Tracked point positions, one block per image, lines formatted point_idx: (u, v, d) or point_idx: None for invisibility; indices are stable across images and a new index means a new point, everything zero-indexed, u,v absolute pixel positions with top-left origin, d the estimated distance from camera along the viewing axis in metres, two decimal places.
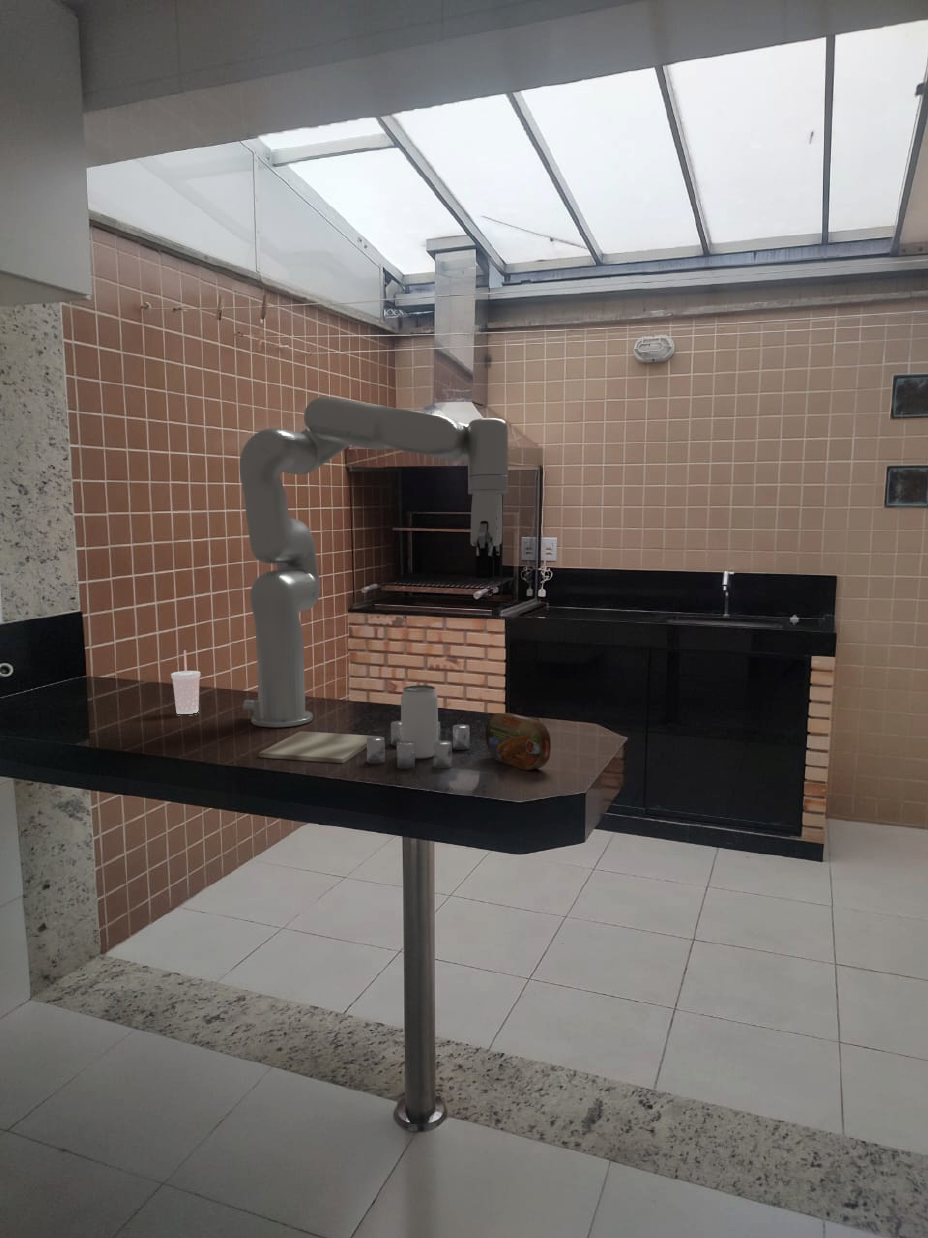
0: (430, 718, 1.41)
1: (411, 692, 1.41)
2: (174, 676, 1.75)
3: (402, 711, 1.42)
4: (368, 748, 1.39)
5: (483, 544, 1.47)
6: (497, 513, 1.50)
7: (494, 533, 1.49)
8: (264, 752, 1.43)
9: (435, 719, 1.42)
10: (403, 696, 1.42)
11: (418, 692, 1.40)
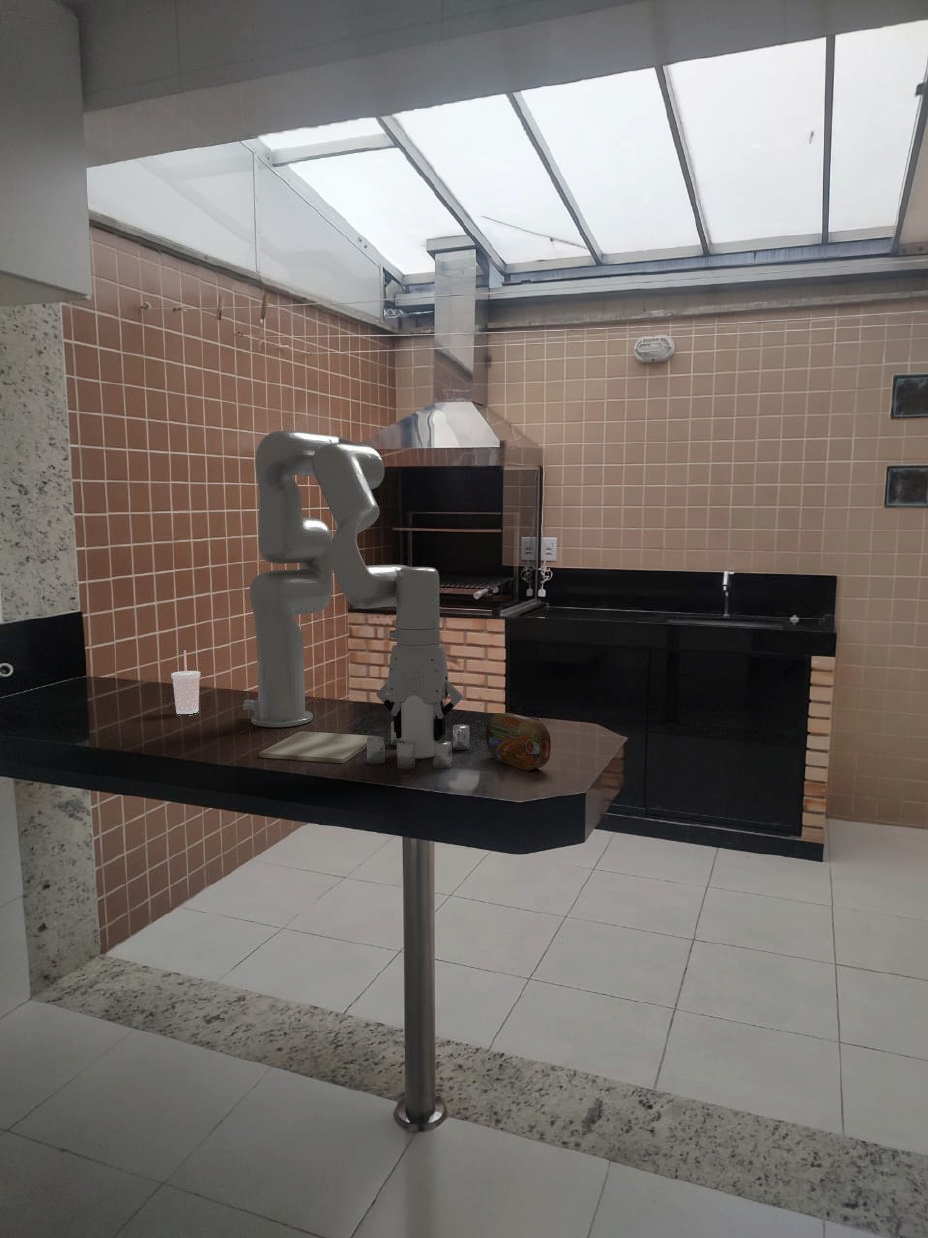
0: (430, 718, 1.41)
1: None
2: (174, 676, 1.75)
3: (402, 711, 1.42)
4: (368, 748, 1.39)
5: None
6: None
7: None
8: (264, 752, 1.43)
9: None
10: None
11: None
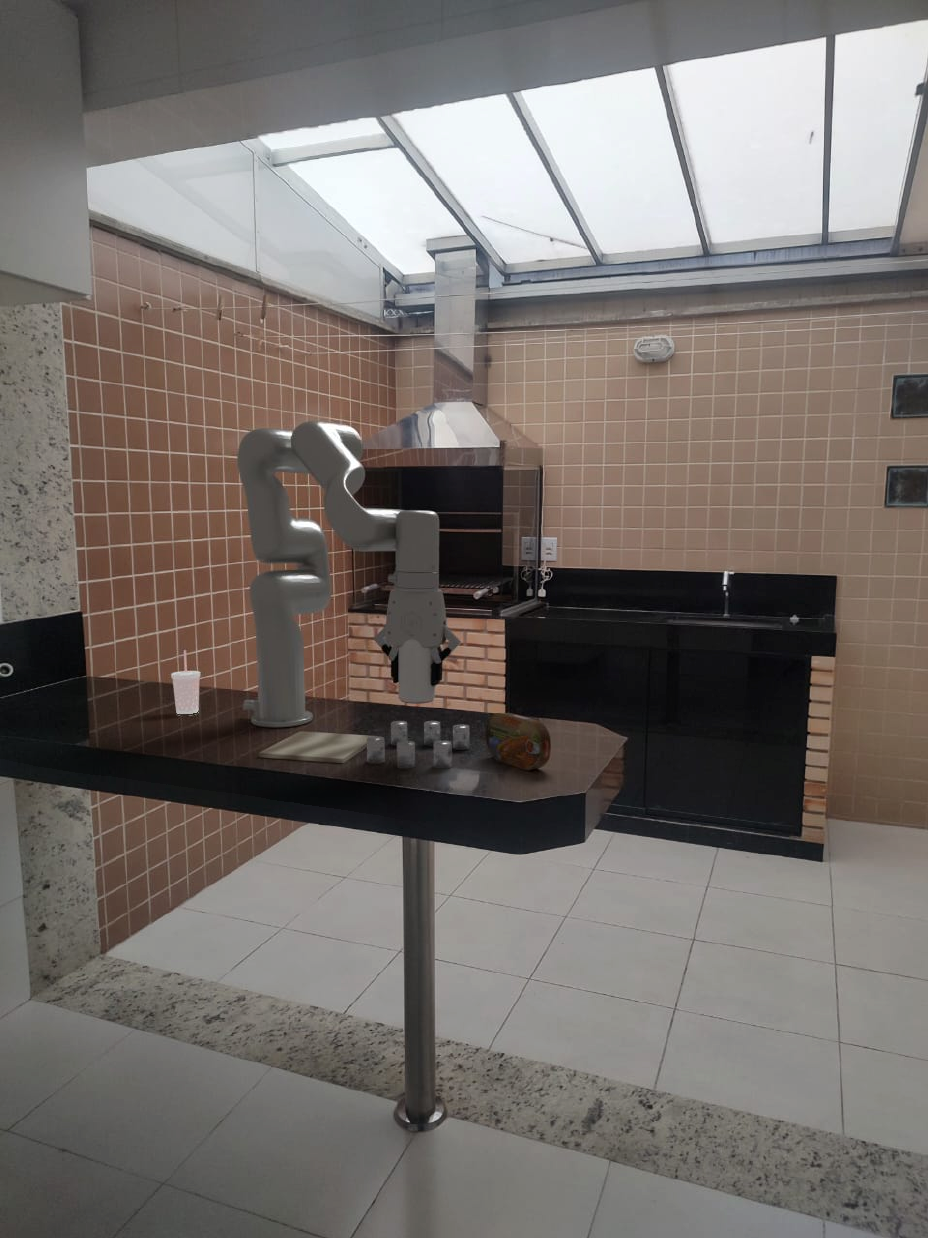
0: (427, 663, 1.40)
1: None
2: (174, 676, 1.75)
3: (399, 655, 1.41)
4: (368, 748, 1.39)
5: (452, 650, 1.41)
6: None
7: None
8: (264, 752, 1.43)
9: None
10: None
11: None
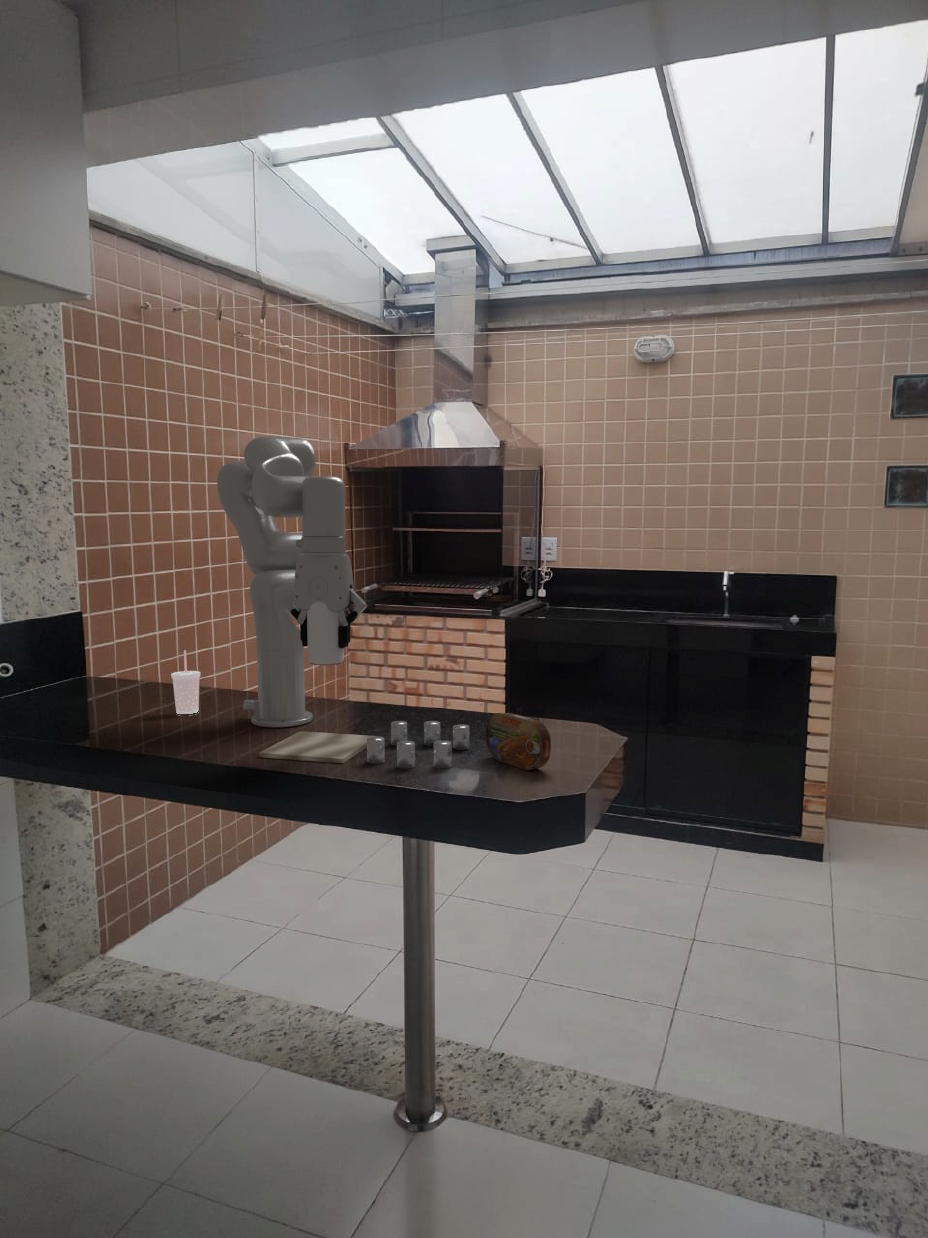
0: (334, 625, 1.44)
1: None
2: (174, 676, 1.75)
3: (307, 618, 1.45)
4: (368, 748, 1.39)
5: None
6: None
7: None
8: (264, 752, 1.43)
9: None
10: None
11: None
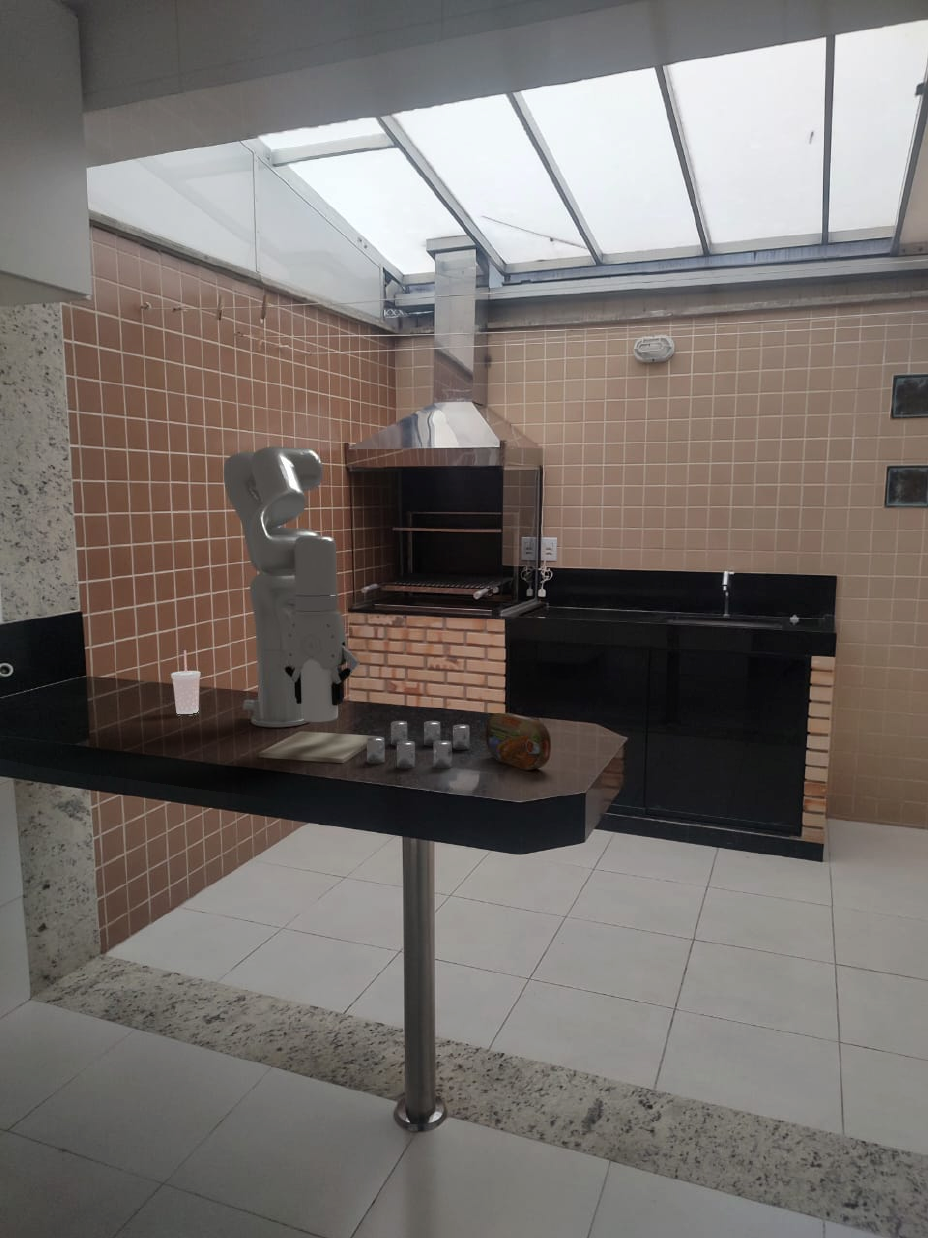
0: (327, 683, 1.45)
1: None
2: (174, 676, 1.75)
3: (301, 676, 1.46)
4: (368, 748, 1.39)
5: None
6: None
7: None
8: (264, 752, 1.43)
9: None
10: None
11: None
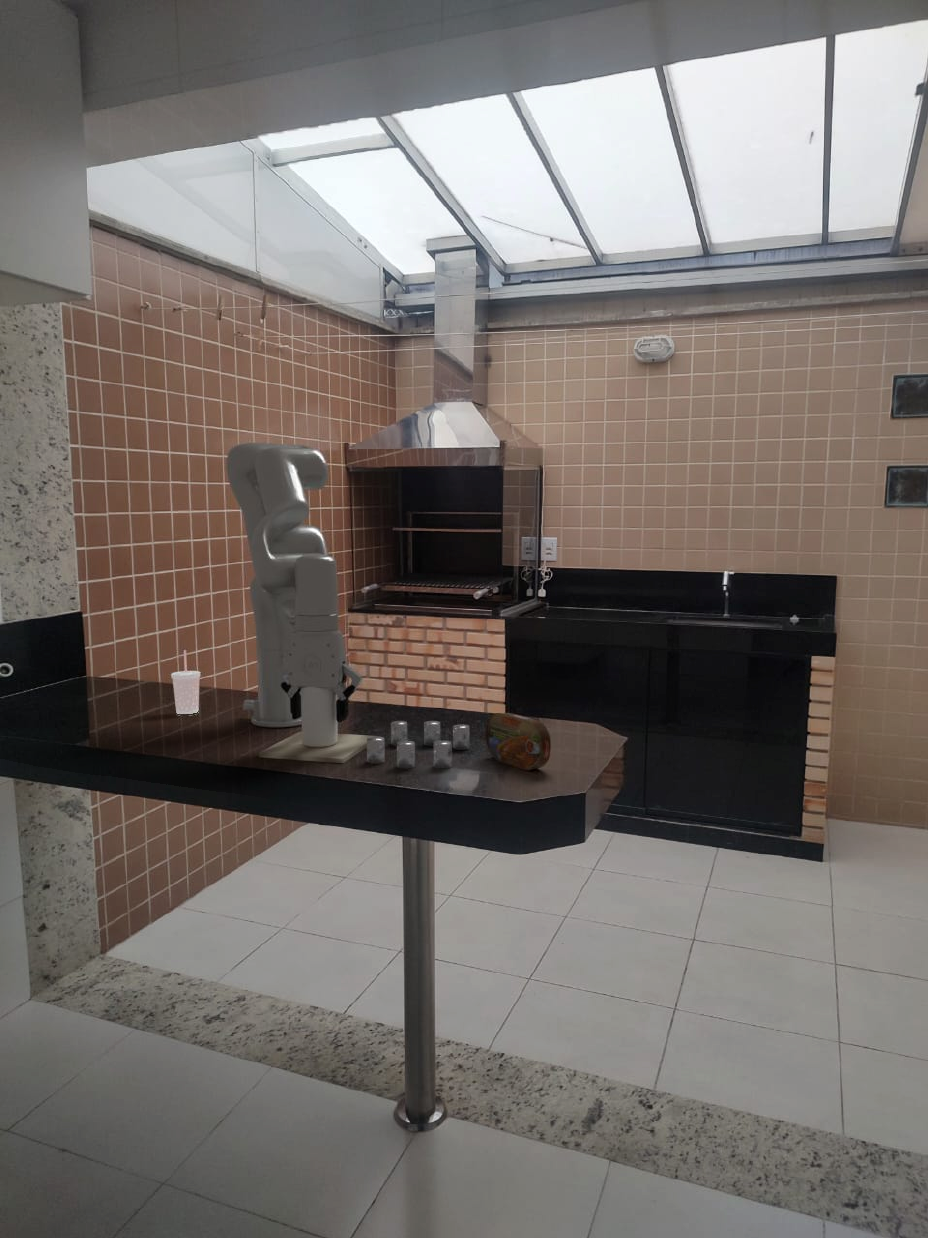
0: (327, 708, 1.46)
1: None
2: (174, 676, 1.75)
3: (301, 701, 1.47)
4: (368, 748, 1.39)
5: (356, 687, 1.46)
6: None
7: None
8: (264, 752, 1.43)
9: (333, 709, 1.47)
10: None
11: None
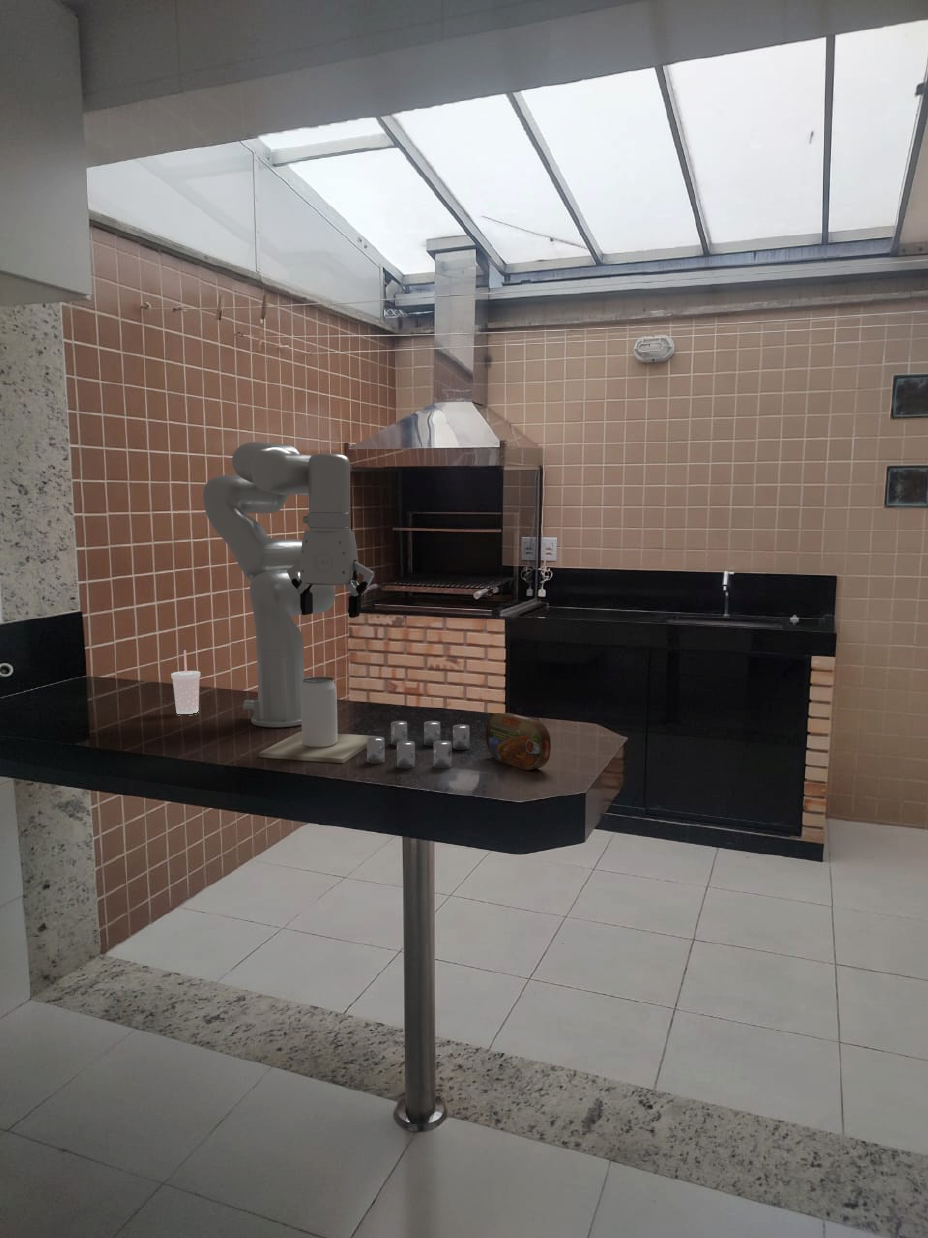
0: (327, 708, 1.45)
1: (309, 683, 1.45)
2: (174, 676, 1.75)
3: (301, 702, 1.47)
4: (368, 748, 1.39)
5: (369, 583, 1.48)
6: None
7: None
8: (264, 752, 1.43)
9: (333, 709, 1.47)
10: (302, 687, 1.46)
11: (315, 684, 1.45)
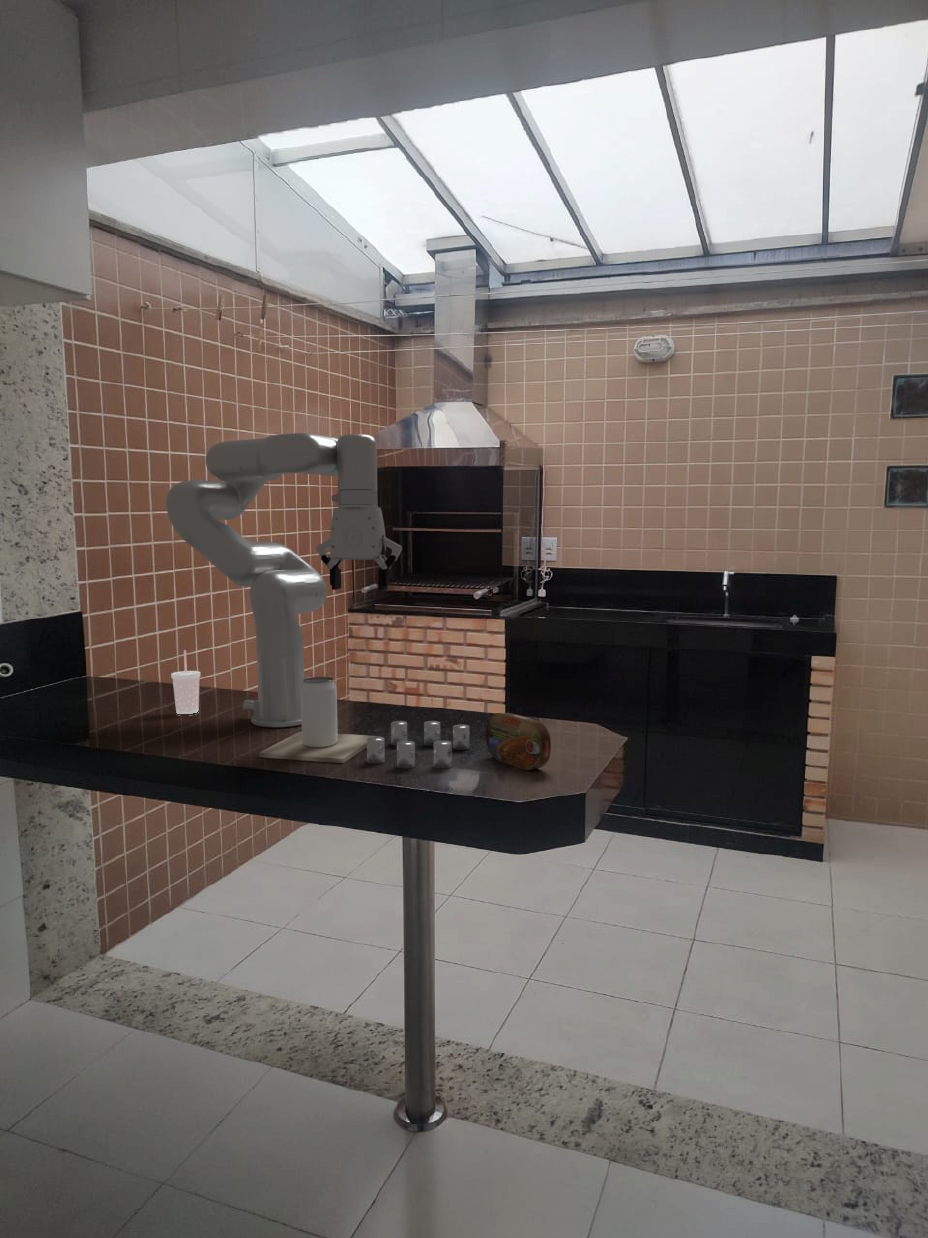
0: (327, 709, 1.45)
1: (309, 683, 1.45)
2: (174, 676, 1.75)
3: (301, 702, 1.47)
4: (368, 748, 1.39)
5: (397, 557, 1.55)
6: None
7: None
8: (264, 752, 1.43)
9: (333, 709, 1.47)
10: (302, 687, 1.46)
11: (315, 684, 1.45)
